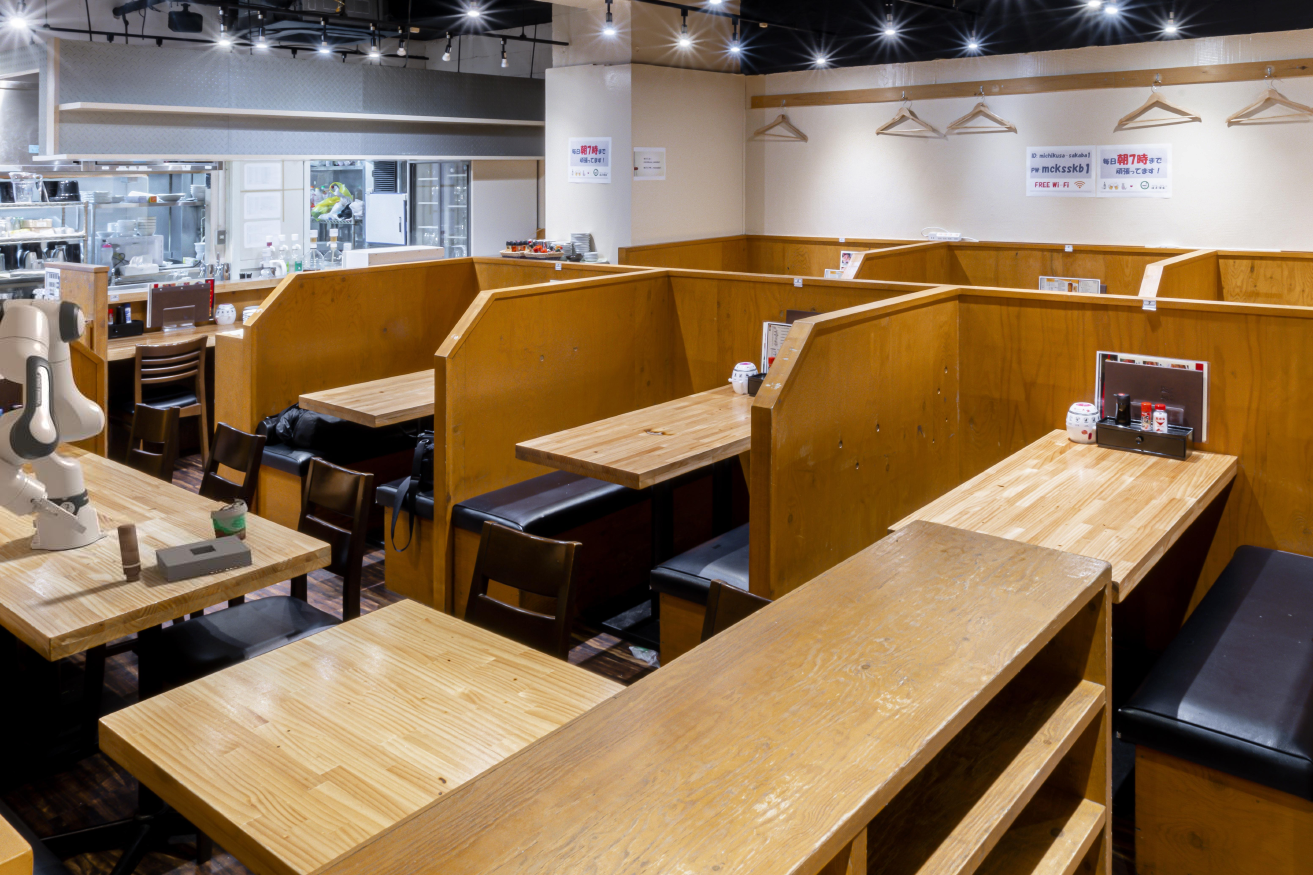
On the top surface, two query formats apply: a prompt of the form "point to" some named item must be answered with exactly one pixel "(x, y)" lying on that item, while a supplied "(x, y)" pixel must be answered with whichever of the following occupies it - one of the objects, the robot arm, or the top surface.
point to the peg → (129, 552)
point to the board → (203, 557)
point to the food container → (230, 520)
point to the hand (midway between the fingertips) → (76, 526)
